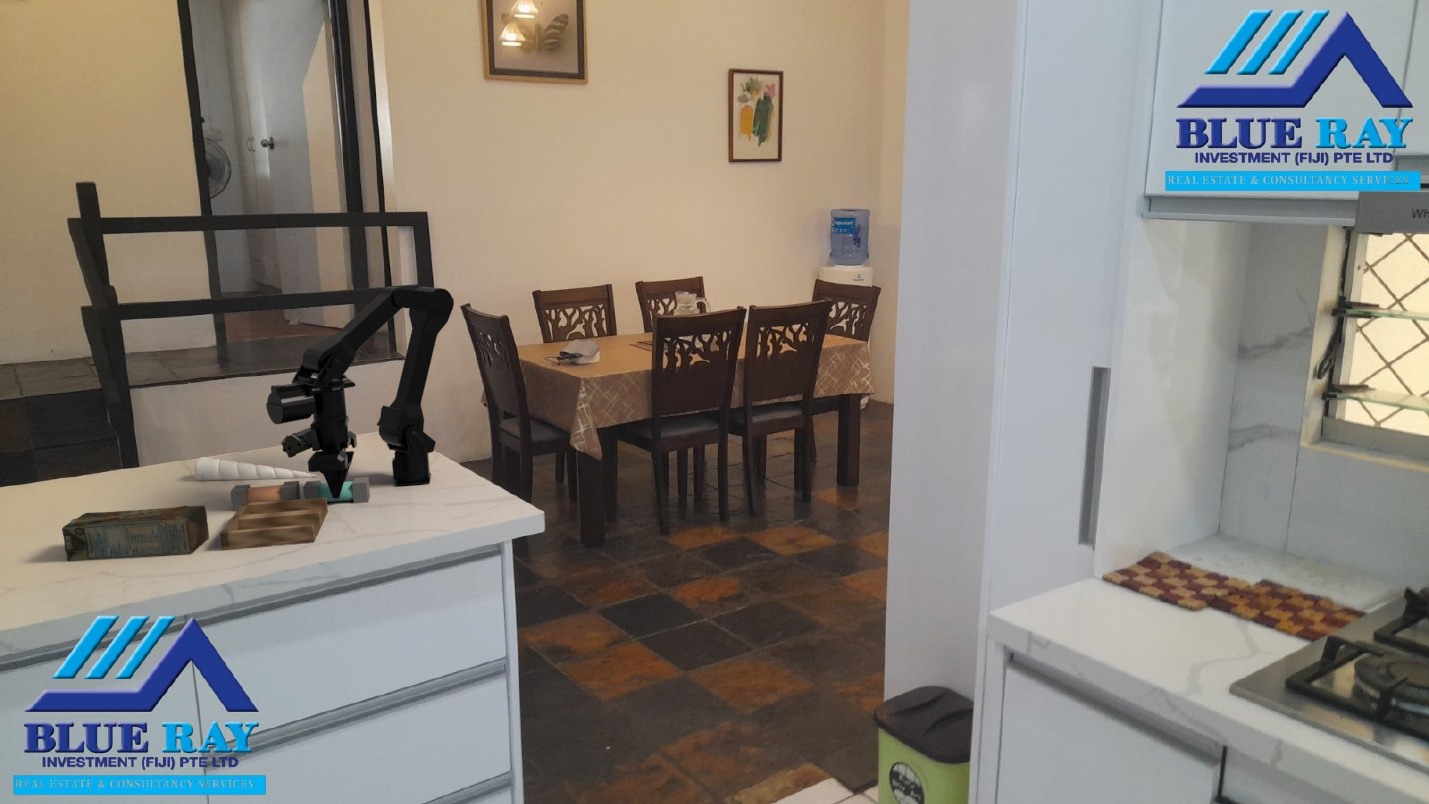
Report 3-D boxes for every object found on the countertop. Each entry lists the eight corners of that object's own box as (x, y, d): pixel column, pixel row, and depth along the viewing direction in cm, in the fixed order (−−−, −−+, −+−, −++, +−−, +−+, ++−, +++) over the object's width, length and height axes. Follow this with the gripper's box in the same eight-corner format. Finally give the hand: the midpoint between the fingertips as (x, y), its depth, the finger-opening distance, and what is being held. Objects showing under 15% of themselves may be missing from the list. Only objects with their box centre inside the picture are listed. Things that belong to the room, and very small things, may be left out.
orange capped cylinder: (300, 500, 181) (298, 480, 180) (297, 506, 177) (295, 486, 176) (237, 504, 178) (235, 485, 178) (232, 511, 175) (230, 491, 174)
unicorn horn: (309, 484, 192) (307, 460, 191) (193, 484, 193) (189, 461, 192) (319, 477, 196) (317, 454, 195) (205, 477, 197) (203, 454, 196)
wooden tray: (327, 511, 174) (326, 497, 173) (314, 542, 159) (312, 526, 158) (244, 518, 171) (242, 503, 170) (221, 550, 155) (219, 533, 155)
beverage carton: (89, 545, 159) (83, 507, 157) (212, 538, 162) (208, 501, 160) (65, 563, 151) (58, 523, 150) (195, 556, 154) (190, 516, 152)
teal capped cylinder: (370, 496, 183) (368, 476, 182) (368, 502, 179) (366, 482, 178) (308, 500, 180) (306, 481, 179) (305, 507, 177) (303, 487, 176)
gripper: (291, 405, 183) (300, 484, 186) (272, 428, 165) (282, 514, 169) (353, 402, 186) (360, 479, 189) (341, 424, 168) (349, 509, 171)
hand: (337, 495), depth 179 cm, fingers closed on teal capped cylinder, 3 cm apart
